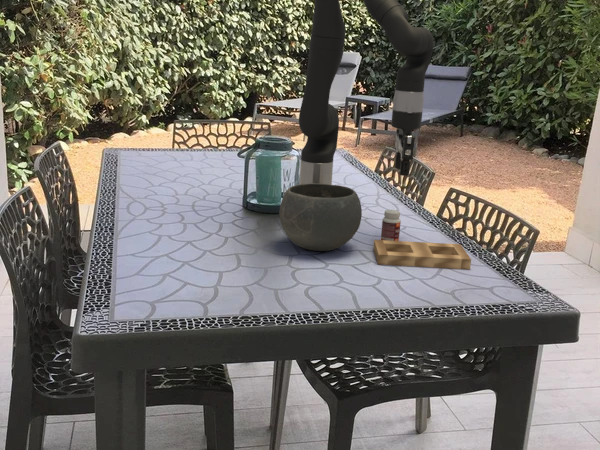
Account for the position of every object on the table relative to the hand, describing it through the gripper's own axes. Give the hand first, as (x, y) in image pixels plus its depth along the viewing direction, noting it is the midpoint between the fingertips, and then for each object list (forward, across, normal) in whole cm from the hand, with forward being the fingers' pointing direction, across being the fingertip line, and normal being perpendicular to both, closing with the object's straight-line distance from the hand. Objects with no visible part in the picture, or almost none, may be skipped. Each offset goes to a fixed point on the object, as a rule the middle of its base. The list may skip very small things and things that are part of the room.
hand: (401, 171), depth 180 cm
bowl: (+19, +9, -21) cm, 30 cm away
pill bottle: (+19, +1, -2) cm, 19 cm away
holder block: (+19, +15, +4) cm, 24 cm away
